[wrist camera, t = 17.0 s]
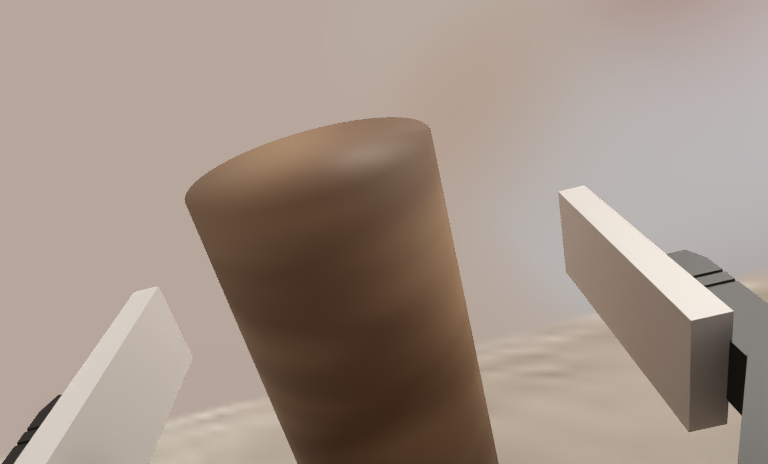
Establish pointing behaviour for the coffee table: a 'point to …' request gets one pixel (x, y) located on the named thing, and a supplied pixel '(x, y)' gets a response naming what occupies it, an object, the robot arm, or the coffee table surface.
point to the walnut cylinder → (350, 293)
